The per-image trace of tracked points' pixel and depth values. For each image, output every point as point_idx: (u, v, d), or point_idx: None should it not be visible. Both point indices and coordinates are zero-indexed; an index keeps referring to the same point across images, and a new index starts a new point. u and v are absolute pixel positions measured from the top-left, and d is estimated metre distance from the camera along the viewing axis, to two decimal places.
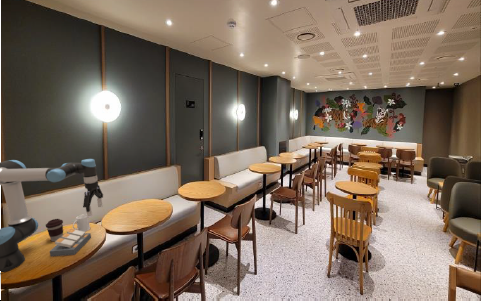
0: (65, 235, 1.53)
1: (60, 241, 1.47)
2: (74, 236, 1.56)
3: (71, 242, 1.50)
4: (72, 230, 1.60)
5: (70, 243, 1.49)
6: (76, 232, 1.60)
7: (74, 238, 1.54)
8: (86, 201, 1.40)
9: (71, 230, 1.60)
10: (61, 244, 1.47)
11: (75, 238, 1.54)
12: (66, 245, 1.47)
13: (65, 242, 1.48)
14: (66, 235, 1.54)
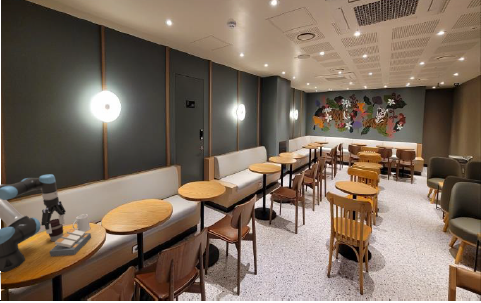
0: (65, 235, 1.53)
1: (60, 241, 1.47)
2: (74, 236, 1.56)
3: (71, 242, 1.50)
4: (72, 230, 1.60)
5: (70, 243, 1.49)
6: (76, 232, 1.60)
7: (74, 238, 1.54)
8: (44, 219, 1.36)
9: (71, 230, 1.60)
10: (61, 244, 1.47)
11: (75, 238, 1.54)
12: (66, 245, 1.47)
13: (65, 242, 1.48)
14: (66, 235, 1.54)
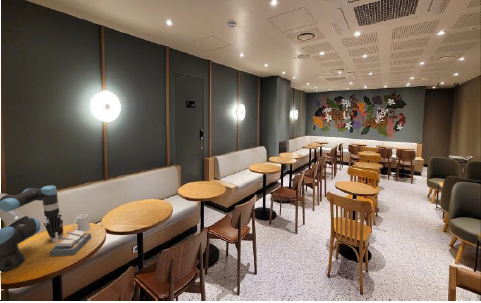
0: (65, 235, 1.53)
1: (60, 242, 1.47)
2: (74, 236, 1.56)
3: (71, 241, 1.49)
4: (72, 230, 1.60)
5: (70, 242, 1.48)
6: (76, 232, 1.60)
7: (74, 238, 1.54)
8: (49, 230, 1.42)
9: (71, 230, 1.60)
10: (61, 244, 1.47)
11: (75, 238, 1.54)
12: (66, 244, 1.47)
13: (65, 242, 1.48)
14: (66, 235, 1.54)
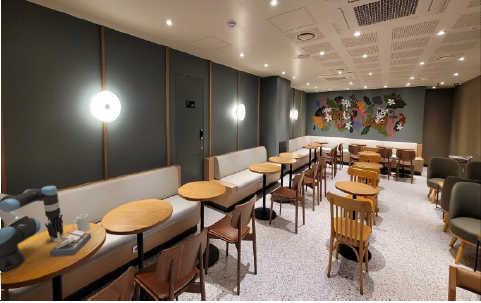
0: (65, 235, 1.53)
1: (60, 243, 1.47)
2: (74, 236, 1.56)
3: (69, 238, 1.49)
4: (72, 230, 1.60)
5: (68, 239, 1.48)
6: (76, 232, 1.60)
7: (74, 238, 1.54)
8: (51, 230, 1.42)
9: (71, 230, 1.60)
10: (61, 245, 1.47)
11: (75, 238, 1.54)
12: (65, 243, 1.47)
13: (64, 241, 1.48)
14: (66, 235, 1.54)
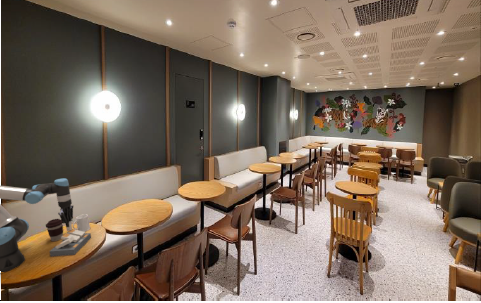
0: (65, 235, 1.53)
1: (60, 243, 1.47)
2: (74, 236, 1.56)
3: (69, 238, 1.49)
4: (72, 230, 1.60)
5: (68, 239, 1.48)
6: (76, 232, 1.60)
7: (74, 238, 1.54)
8: (63, 219, 1.53)
9: (71, 230, 1.60)
10: (61, 245, 1.47)
11: (75, 238, 1.54)
12: (65, 243, 1.47)
13: (64, 241, 1.48)
14: (66, 235, 1.54)
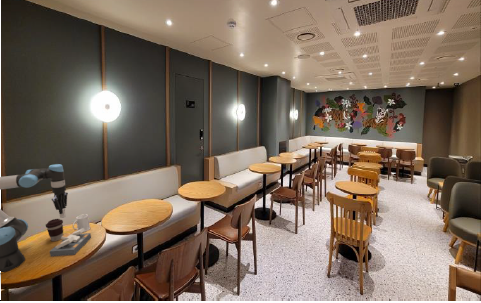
0: (65, 235, 1.53)
1: (60, 243, 1.47)
2: (74, 236, 1.56)
3: (69, 238, 1.49)
4: (71, 233, 1.61)
5: (68, 239, 1.48)
6: (75, 232, 1.60)
7: (74, 238, 1.54)
8: (57, 205, 1.51)
9: (70, 233, 1.60)
10: (61, 245, 1.47)
11: (75, 238, 1.54)
12: (65, 243, 1.47)
13: (64, 241, 1.48)
14: (66, 235, 1.54)
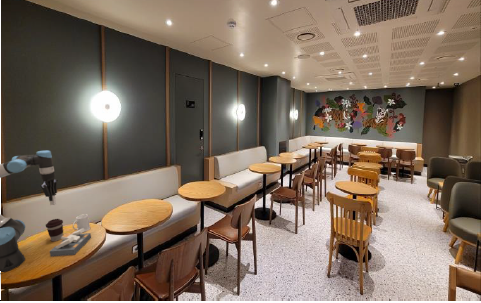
0: (65, 235, 1.53)
1: (60, 243, 1.47)
2: (74, 236, 1.56)
3: (69, 238, 1.49)
4: (71, 233, 1.61)
5: (68, 239, 1.48)
6: (75, 232, 1.60)
7: (74, 238, 1.54)
8: (46, 192, 1.49)
9: (70, 233, 1.60)
10: (61, 245, 1.47)
11: (75, 238, 1.54)
12: (65, 243, 1.47)
13: (64, 241, 1.48)
14: (66, 235, 1.54)
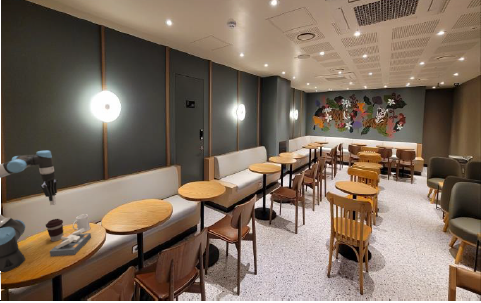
0: (65, 235, 1.53)
1: (60, 243, 1.47)
2: (74, 236, 1.56)
3: (69, 238, 1.49)
4: (71, 233, 1.61)
5: (68, 239, 1.48)
6: (75, 232, 1.60)
7: (74, 238, 1.54)
8: (46, 192, 1.49)
9: (70, 233, 1.60)
10: (61, 245, 1.47)
11: (75, 238, 1.54)
12: (65, 243, 1.47)
13: (64, 241, 1.48)
14: (66, 235, 1.54)
